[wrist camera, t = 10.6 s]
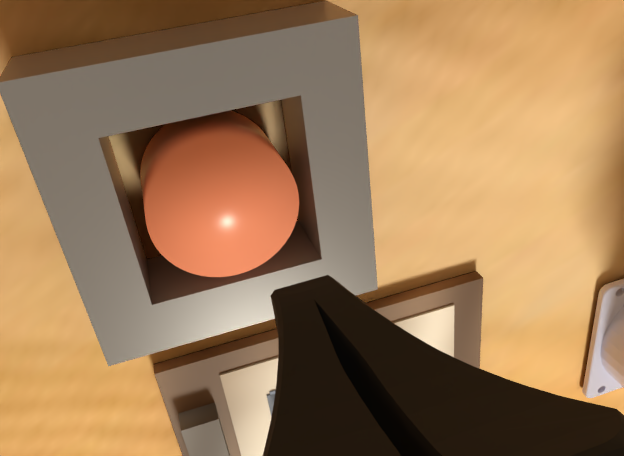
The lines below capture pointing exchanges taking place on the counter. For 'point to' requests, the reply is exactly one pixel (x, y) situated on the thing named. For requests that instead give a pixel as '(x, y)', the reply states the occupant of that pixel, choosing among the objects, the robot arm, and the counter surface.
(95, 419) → the counter surface
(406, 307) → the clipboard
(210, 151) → the button
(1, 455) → the counter surface
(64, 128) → the button housing
